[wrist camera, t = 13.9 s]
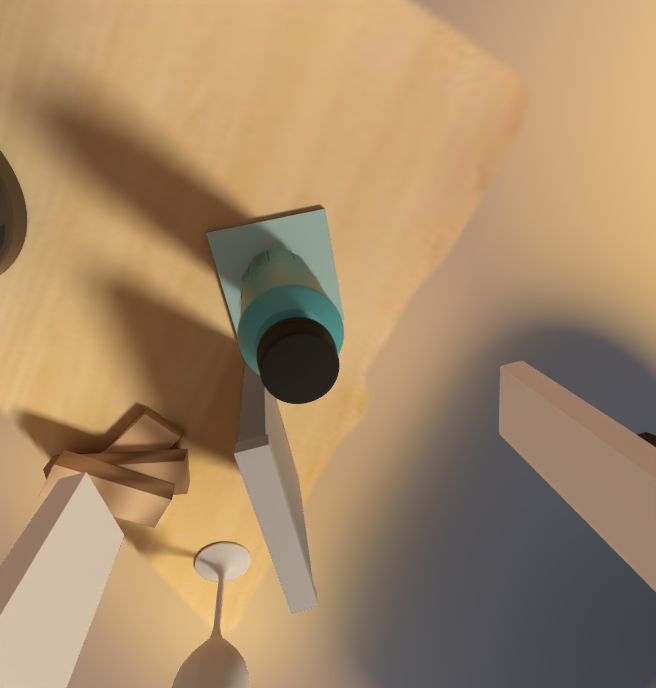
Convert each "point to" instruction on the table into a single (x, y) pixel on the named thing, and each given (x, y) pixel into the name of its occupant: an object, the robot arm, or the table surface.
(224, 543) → the wineglass
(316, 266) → the mat
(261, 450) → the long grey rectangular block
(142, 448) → the offcut bottom
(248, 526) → the table surface
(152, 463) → the offcut middle
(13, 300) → the table surface
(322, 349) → the beverage bottle
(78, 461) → the offcut top
